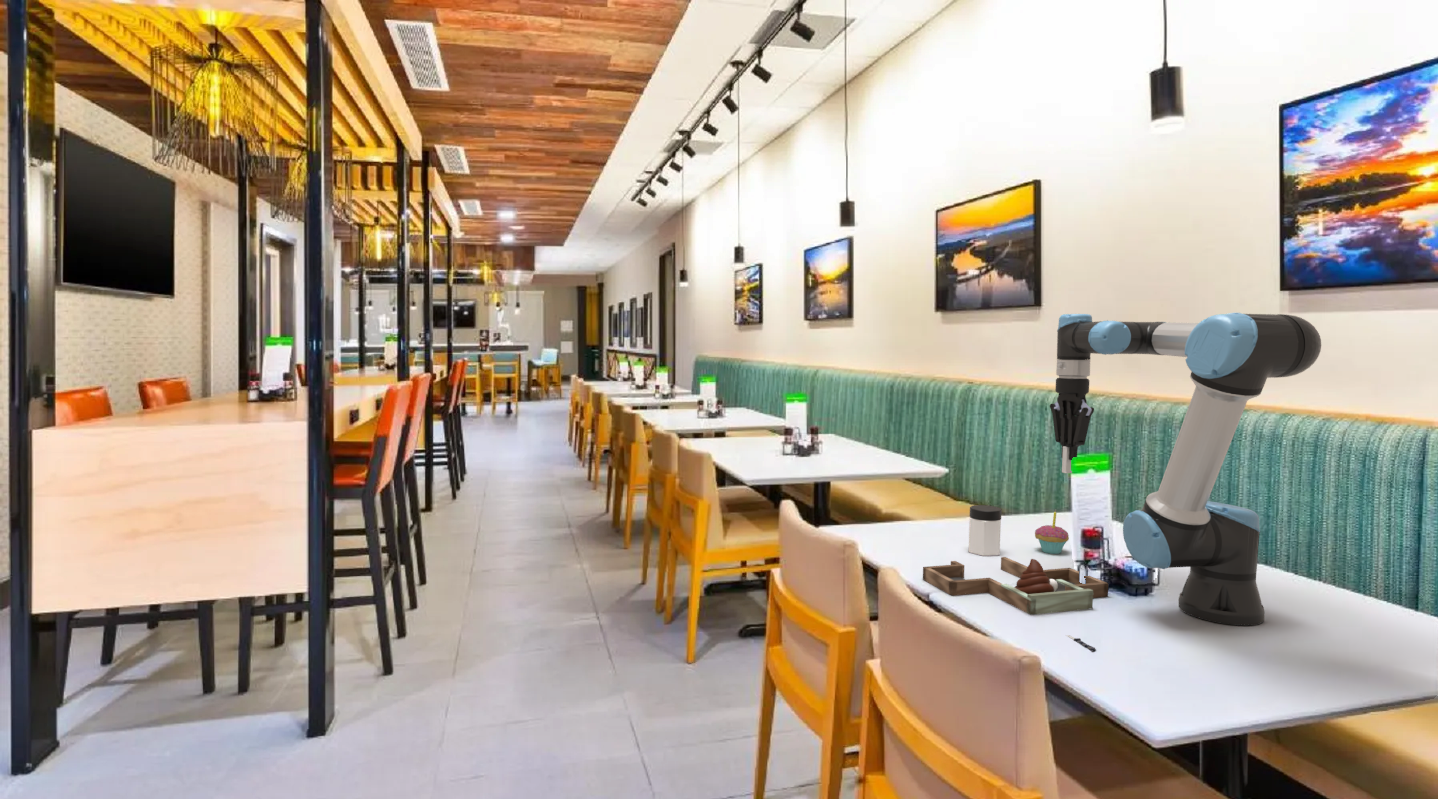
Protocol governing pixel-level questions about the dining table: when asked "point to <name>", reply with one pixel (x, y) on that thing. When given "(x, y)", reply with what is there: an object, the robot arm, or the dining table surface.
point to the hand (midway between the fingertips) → (1068, 472)
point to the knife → (1082, 643)
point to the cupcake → (1051, 537)
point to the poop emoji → (1035, 580)
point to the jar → (984, 530)
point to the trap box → (1063, 599)
